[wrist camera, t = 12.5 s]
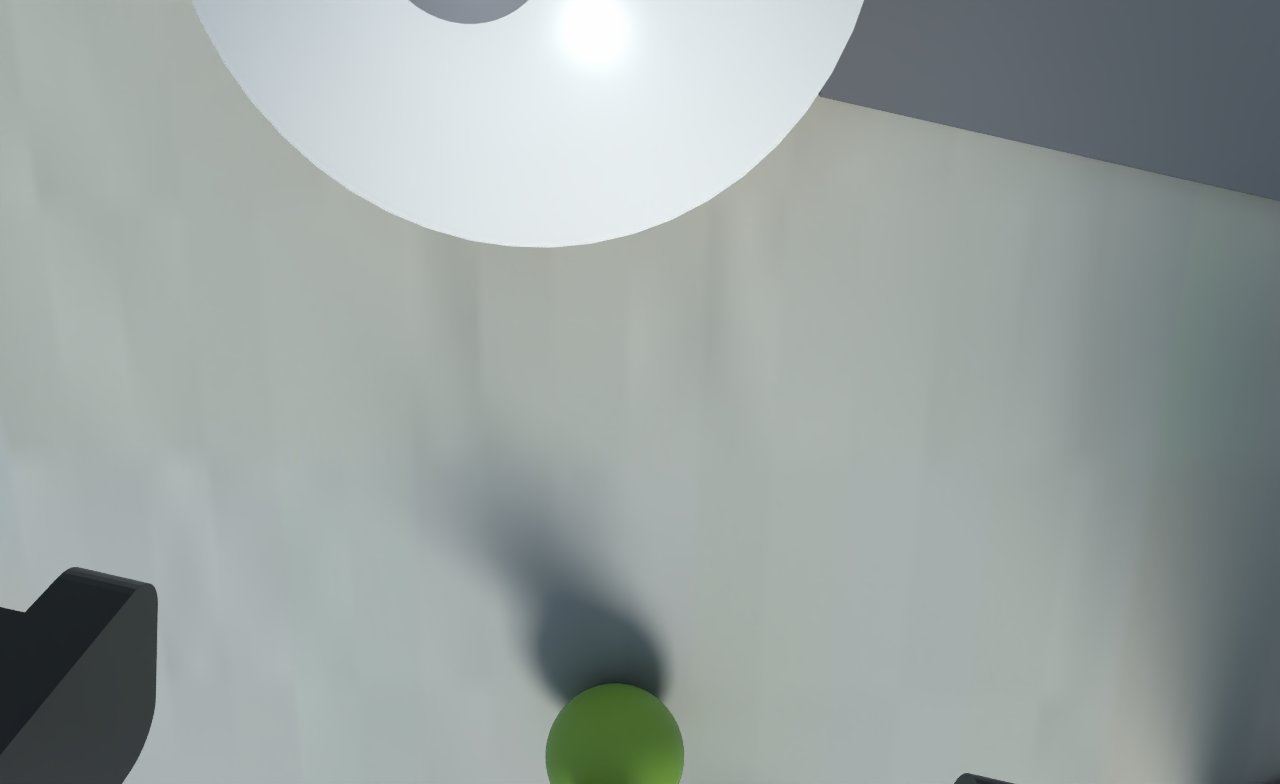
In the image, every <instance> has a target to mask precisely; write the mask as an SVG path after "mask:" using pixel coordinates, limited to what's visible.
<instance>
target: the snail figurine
mask: <svg viewBox="0 0 1280 784" xmlns="http://www.w3.org/2000/svg"><path fill="white" fill-rule="evenodd" d="M683 765H684V747H683V740H682V736H681V733H680V730H679V727H678V725H677V723H676V721H675V719H674V717H673V716H672V714H671V713H670V711H669V710H668V709H667V707H666V706H665V705H664V704H663V703H662V702H661V701H660V700H659V699H657V698H656V697H655V696H653V695H652V694H650V693H649V692H647V691H645V690H643V689H641V688H638V687H635V686H632V685H627V684H619V683H611V684H603V685H599V686H595V687H592V688H590V689H588V690H585V691H583V692H582V693H580V694H578V695H577V696H576V697H574V698H573V699H572V700H571V701H569V702H568V703H567V704H566V705H565V707H564V708H563V709H562V710H561V711H560V713H559V714H558V716H557V717H556V719H555V721H554V723H553V725H552V727H551V730H550V733H549V736H548V740H547V745H546V768H547V774H548V777H549V781H550V784H679V782H680V779H681V775H682V771H683Z"/></svg>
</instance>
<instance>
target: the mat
mask: <svg viewBox="0 0 1280 784" xmlns="http://www.w3.org/2000/svg"><path fill="white" fill-rule="evenodd" d="M819 96H820V97H824V98H829V99H833V100H838V101H842V102H846V103H851V104H855V105H860V106H864V107H868V108H873V109H877V110H882V111H886V112H890V113H895V114H899V115H904V116H908V117H912V118H917V119H921V120H926V121H930V122H934V123H939V124H943V125H948V126H952V127H956V128H961V129H965V130H970V131H974V132H978V133H983V134H987V135H992V136H996V137H1000V138H1005V139H1009V140H1014V141H1018V142H1022V143H1027V144H1031V145H1036V146H1040V147H1045V148H1049V149H1053V150H1058V151H1062V152H1067V153H1071V154H1075V155H1080V156H1084V157H1089V158H1093V159H1097V160H1102V161H1106V162H1111V163H1115V164H1119V165H1124V166H1128V167H1133V168H1137V169H1141V170H1146V171H1150V172H1155V173H1159V174H1163V175H1168V176H1172V177H1177V178H1181V179H1185V180H1190V181H1194V182H1199V183H1203V184H1207V185H1212V186H1216V187H1221V188H1225V189H1229V190H1234V191H1238V192H1243V193H1247V194H1252V195H1256V196H1260V197H1265V198H1269V199H1274V200H1278V201H1280V0H864V2H863V4H862V7H861V10H860V13H859V16H858V19H857V21H856V24H855V27H854V30H853V32H852V34H851V36H850V38H849V40H848V42H847V44H846V46H845V48H844V50H843V52H842V54H841V56H840V58H839V60H838V62H837V64H836V66H835V68H834V70H833V72H832V74H831V75H830V77H829V78H828V80H827V81H826V83H825V84H824V86H823V87H822V89H821V90H820V92H819Z"/></svg>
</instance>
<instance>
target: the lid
mask: <svg viewBox="0 0 1280 784" xmlns="http://www.w3.org/2000/svg"><path fill="white" fill-rule="evenodd" d="M863 2H864V0H192V3H193V5H194V7H195V10H196V12H197V14H198V17H199V19H200V21H201V23H202V24H203V26H204V28H205V30H206V32H207V33H208V35H209V37H210V39H211V41H212V42H213V44H214V46H215V48H216V50H217V51H218V53H219V55H220V57H221V59H222V60H223V62H224V63H225V65H226V66H227V68H228V69H229V71H230V72H231V73H232V75H233V76H234V78H235V79H236V80H237V82H238V83H239V85H240V86H241V87H242V89H243V90H244V92H245V93H246V95H247V96H248V97H249V99H250V100H251V101H252V102H253V104H254V105H255V106H256V107H257V108H258V109H259V110H260V111H261V113H262V114H263V115H264V116H265V117H266V118H267V119H268V120H269V122H270V123H271V124H272V125H273V126H274V127H275V128H276V130H277V131H278V132H279V133H280V134H281V135H282V136H283V137H284V138H285V139H286V140H287V141H289V142H290V143H291V144H292V145H293V146H294V147H295V148H296V149H297V150H299V151H300V152H301V153H302V154H303V155H304V156H305V157H306V158H307V159H308V160H310V161H311V162H312V163H313V164H314V165H315V166H317V167H318V168H319V169H321V170H322V171H324V172H325V173H326V174H328V175H329V176H330V177H332V178H333V179H335V180H336V181H337V182H339V183H340V184H342V185H343V186H344V187H346V188H347V189H349V190H350V191H351V192H353V193H355V194H357V195H359V196H360V197H362V198H364V199H366V200H368V201H369V202H371V203H373V204H375V205H377V206H378V207H380V208H382V209H384V210H386V211H387V212H389V213H392V214H394V215H396V216H399V217H401V218H404V219H406V220H409V221H411V222H413V223H416V224H418V225H421V226H423V227H425V228H428V229H431V230H435V231H438V232H442V233H445V234H449V235H453V236H456V237H460V238H463V239H467V240H472V241H478V242H485V243H491V244H498V245H505V246H516V247H561V246H571V245H582V244H592V243H596V242H601V241H605V240H609V239H614V238H618V237H623V236H627V235H631V234H634V233H637V232H640V231H643V230H645V229H648V228H651V227H653V226H656V225H659V224H662V223H664V222H667V221H670V220H672V219H674V218H676V217H678V216H680V215H682V214H684V213H686V212H688V211H689V210H691V209H693V208H695V207H697V206H699V205H701V204H703V203H705V202H707V201H709V200H710V199H712V198H713V197H714V196H716V195H717V194H719V193H720V192H722V191H723V190H724V189H726V188H727V187H729V186H730V185H732V184H733V183H735V182H736V181H737V180H739V179H740V178H742V177H743V176H744V175H746V174H747V173H748V172H749V171H750V170H751V169H752V168H753V167H754V166H756V165H757V164H758V163H759V162H760V161H761V160H762V159H763V158H764V157H765V156H767V155H768V154H769V153H770V152H771V151H772V150H773V149H774V148H775V147H777V145H778V144H779V143H780V142H781V141H782V140H783V138H784V137H785V136H786V135H787V134H788V133H789V131H790V130H791V129H792V128H793V127H794V126H795V124H796V123H797V122H798V121H799V120H800V119H801V117H802V116H803V115H804V114H805V113H806V112H807V110H808V109H809V107H810V106H811V104H812V103H813V101H814V99H815V98H816V96H817V95H818V93H819V92H820V90H821V89H822V87H823V86H824V84H825V83H826V81H827V80H828V78H829V77H830V75H831V74H832V72H833V70H834V68H835V66H836V64H837V62H838V60H839V58H840V56H841V54H842V52H843V50H844V48H845V46H846V44H847V42H848V40H849V38H850V36H851V34H852V32H853V30H854V27H855V24H856V21H857V19H858V16H859V13H860V10H861V7H862V4H863Z"/></svg>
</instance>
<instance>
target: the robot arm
mask: <svg viewBox="0 0 1280 784" xmlns="http://www.w3.org/2000/svg"><path fill="white" fill-rule="evenodd" d="M157 613H158V599H157V592H156V590H155V587H154V586H153V585H151V584H149V583H145V582H140V581H136V580H132V579H127V578H123V577H118V576H114V575H110V574H105V573H101V572H97V571H92V570H88V569H83V568H79V567H73V568H70V569H68V570H66V571H65V572H63V573H62V574H61V575H60V576H59V577H58V578H57V579H56V580H55V581H54V582H53V583H52V584H51V585H50V586H49V587H48V589H47V590H46V591H45V592H44V593H43V594H42V595H41V596H40V597H39V598H38V599H37V600H36V601H35V602H34V603H33V604H32V606H31V607H30V608H29V609H28V610H27V611H26V612H25V613H24V612H20V611H15V610H11V609H6V608H2V607H0V784H122V783H123V781H124V780H125V778H126V777H127V775H128V774H129V772H130V771H131V769H132V767H133V766H134V764H135V763H136V761H137V759H138V757H139V755H140V753H141V751H142V748H143V746H144V744H145V741H146V739H147V736H148V733H149V730H150V727H151V723H152V719H153V715H154V709H155V700H156V659H157ZM954 784H1013V783H1009V782H1004V781H1000V780H996V779H991V778H987V777H983V776H978V775H974V774H969V773H965V774H962V775H961V776H960V777H959V778H958V779H957V780H956V782H955V783H954Z"/></svg>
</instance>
